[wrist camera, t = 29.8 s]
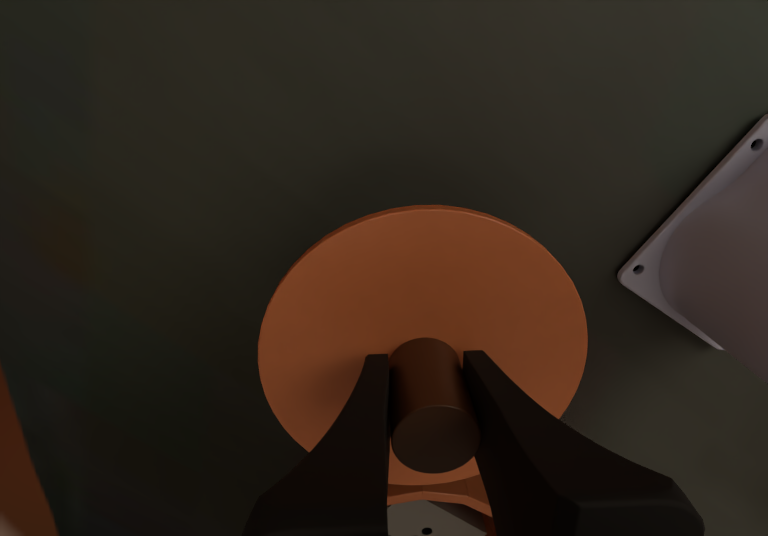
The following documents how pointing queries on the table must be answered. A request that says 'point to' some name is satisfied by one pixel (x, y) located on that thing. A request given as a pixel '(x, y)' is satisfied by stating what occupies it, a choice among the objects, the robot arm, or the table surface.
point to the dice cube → (434, 519)
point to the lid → (420, 330)
